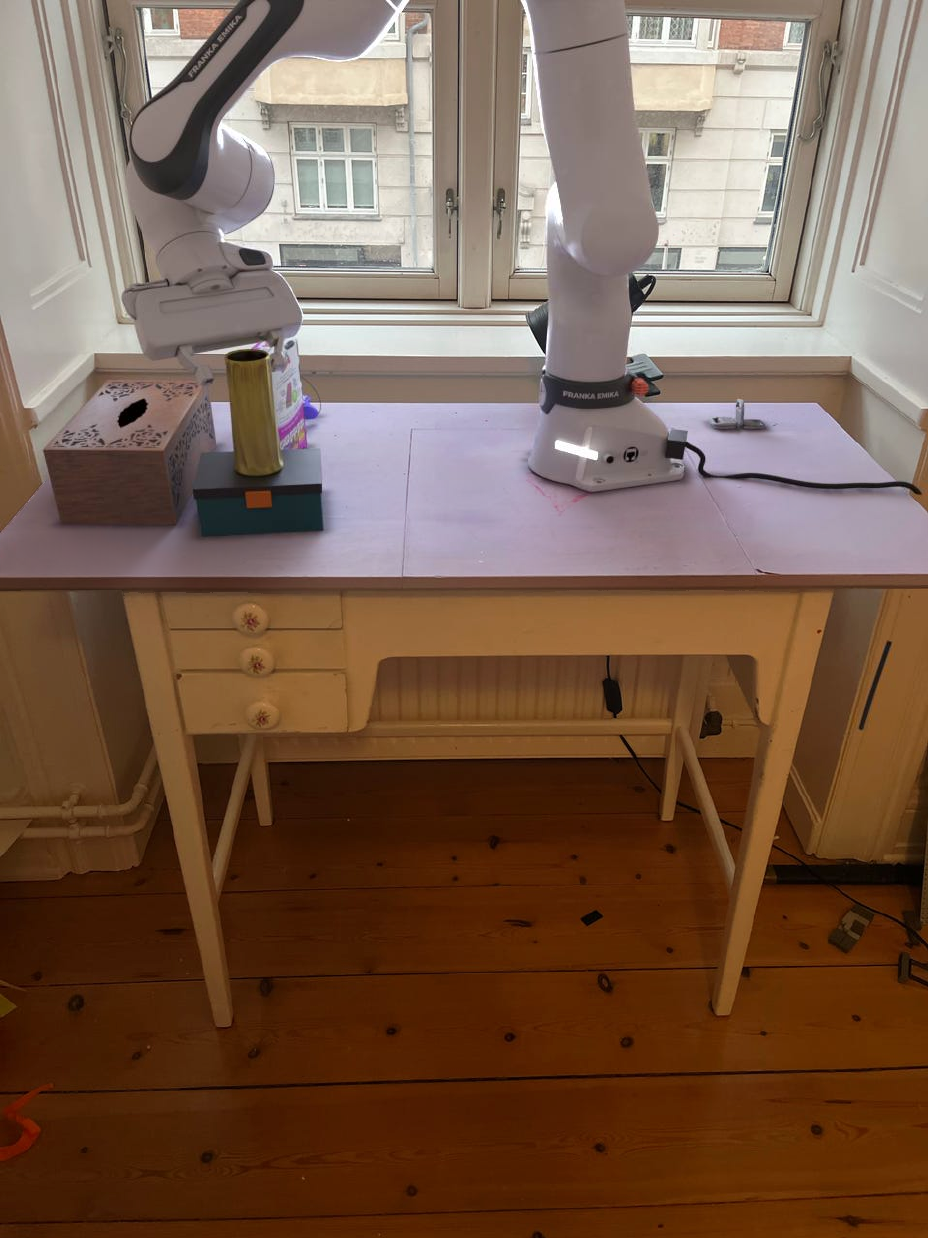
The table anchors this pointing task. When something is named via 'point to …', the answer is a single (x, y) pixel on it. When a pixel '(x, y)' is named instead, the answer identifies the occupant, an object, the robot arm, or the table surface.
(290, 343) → the candy bar box
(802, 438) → the table surface
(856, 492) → the table surface
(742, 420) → the grey t-shaped piece
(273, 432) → the vase
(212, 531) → the lunchbox
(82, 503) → the tissue box cover
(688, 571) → the table surface
